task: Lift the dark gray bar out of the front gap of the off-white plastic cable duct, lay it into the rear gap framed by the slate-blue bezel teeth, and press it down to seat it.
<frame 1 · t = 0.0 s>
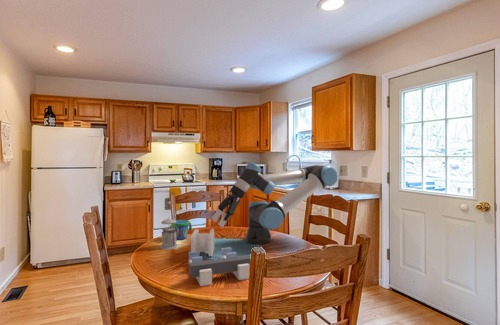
hand: (216, 223, 153), 15 cm above the table, tool tilted 35°, fingers open, 13 cm apart
french press: (170, 247, 164), on the table
dark gray bar: (222, 271, 121), point 2 cm above the table, touching cable duct
cable duct: (217, 270, 129), on the table
snack cup: (180, 238, 181), on the table
cable organizer: (202, 254, 151), on the table
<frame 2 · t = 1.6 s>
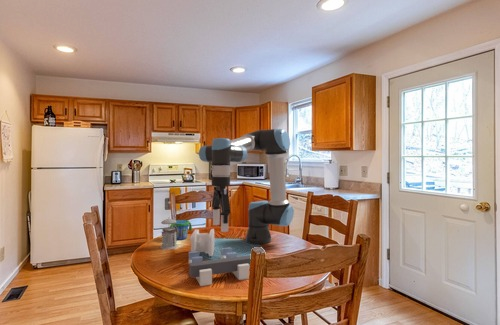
hand: (220, 228, 122), 20 cm above the table, tool pointing down, fingers open, 13 cm apart
nothing on the table moved.
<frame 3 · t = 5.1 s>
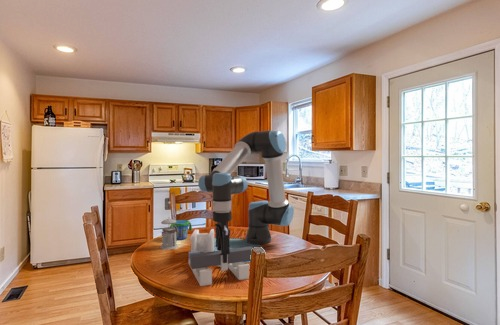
hand: (222, 268, 122), 4 cm above the table, tool pointing down, fingers closed on dark gray bar, 4 cm apart
dark gray bar: (223, 262, 122), point 6 cm above the table, touching gripper
everything else where it was.
when the fingers open (1 cm above the table, at t = 9.1 s): dark gray bar stays where it is, resting on cable duct.
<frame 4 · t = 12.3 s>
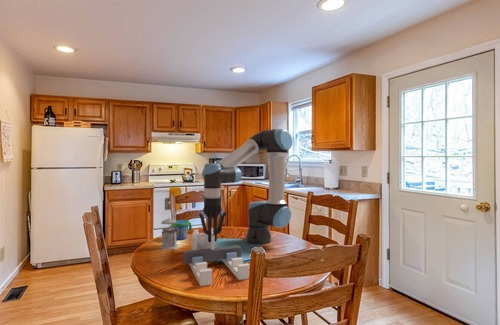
hand: (212, 248, 136), 7 cm above the table, tool pointing down, fingers closed
dark gray bar: (212, 259, 136), point 2 cm above the table, touching cable duct, gripper
everything else where it was.
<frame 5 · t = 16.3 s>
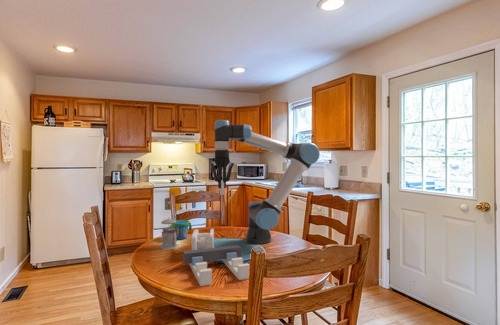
hand: (222, 194, 157), 29 cm above the table, tool pointing down, fingers closed
dark gray bar: (212, 259, 136), point 2 cm above the table, touching cable duct
everything else where it was.
at the end: dark gray bar 0.2 cm from the target spot on the cable duct, point 2.5 cm above the cable duct's base; dark gray bar tilted 0°; the gripper is holding nothing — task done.
